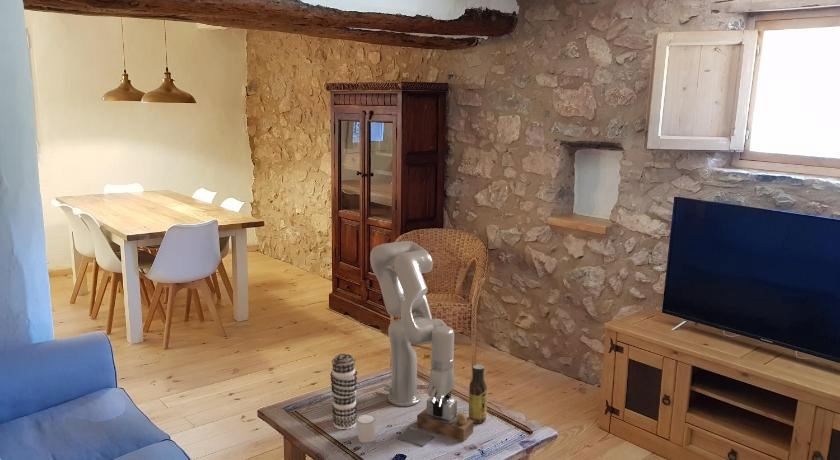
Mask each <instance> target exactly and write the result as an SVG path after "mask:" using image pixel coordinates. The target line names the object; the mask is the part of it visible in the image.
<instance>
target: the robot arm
mask: <svg viewBox="0 0 840 460" xmlns="http://www.w3.org/2000/svg"><path fill="white" fill-rule="evenodd" d="M369 255H370V257H369V261H370V266H371V270H372V271H373V273H374V275H375V277H376V279H377V281H378V284H379V287H380V290H381V294H382V295H381V296H382V299H383V302H384V303H383V304H384V306H385V309H386V311H387V313H388V315H389V316H391V317H398V316H400V318H398V319H396V320H394V321H391V323H390V324H389V325H388V329H387V332H388V338H389V343H390V352H391V353H390V355H391V356H390V362H391V383H389V382H385V383H384V388H383V390H384V391H386V392H389V393H388V395H387V401H388V402H389V403H390V404H392V405H393V406H397V407H410V406H412V407H413V406H415V405H417V404H419V403H420V402H421V400H422V394H421V393H420V392H419V391H418V356H417V355H418V354H417V352H416V350H415V349H414V348H413V347H412V345H414V346H419V345H424V344H428V343H431V344H430V345H431V347H430V349H431V351H430V352H431V355H430V356H431V357H430V364H431V365H430V367H431V369H430V372H429V378H428V391H427V393H428V397H429V398H430V397H431V398H430V402H431V403H432V405H433V415H434V416H438V417H442V406H441V402H442V398H443V397H445V398H448V399H452V394H451V393H452V391H453V389H454V383H455V382H454V381H455V380H454V379H455V378H454V377H455V376H454V375H455V374H454V354H455V331H454V329H453V328H452V327H450V326H448V325H447V324H446V323H445V322H444V320H442V319H441V318H433V316H432V312H431V309H430V305H429V300H428V299H427V296H426V294H427V293H428V291H429V290H428V286H427V284H426V280H425V279H424V276H423V274H425V273H426V274H427V273H430V272H431V271H432V269H433V266H434V263H433V258H432V256H431V254H430V253H429V252H428V251H427V250H426V248H424V247H422V246H420V245H419V244H417V243H416V242H414V241H411V240H403V241H397V242H395V241H394V242H389V243H387V242H386V243H383V244H382V243H381V244H379V245H376V246H374V247H373V248H372V250H371V251H370V254H369ZM392 266H393V267H392ZM436 395H438V396H436ZM436 399H439V402H438V401H436Z"/></svg>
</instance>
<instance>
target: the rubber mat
mask: <svg viewBox="0 0 840 460" xmlns="http://www.w3.org/2000/svg"><path fill="white" fill-rule="evenodd" d="M434 437H435V436H434V435H432V434H429V433H426V432H423V431H419V430H418V429H417V430H416V429H413V428H410V427H408V428H406V429H405V430H404V431H402V432H401V434H399V435H398V436H397V437H396V439H398V440H400V441H404V442H408V443H410V444H414V445H415V446H419V447H422V448H423V447H425V446H426V445H427V444H428V443H430V441H431V440H432V439H433V438H434Z"/></svg>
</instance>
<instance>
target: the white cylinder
mask: <svg viewBox="0 0 840 460" xmlns="http://www.w3.org/2000/svg"><path fill="white" fill-rule="evenodd" d="M376 426H377V417H376V416H375V415H373V414H369V413H366V414H365V413H364V414H361V415H357V418H356V426H355V427H356V434H357V440H358V439H359V440H358V441H359V442H361V443H364V442H365V443H372V442H373V441H374V440H376V439H375V438H376Z"/></svg>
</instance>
